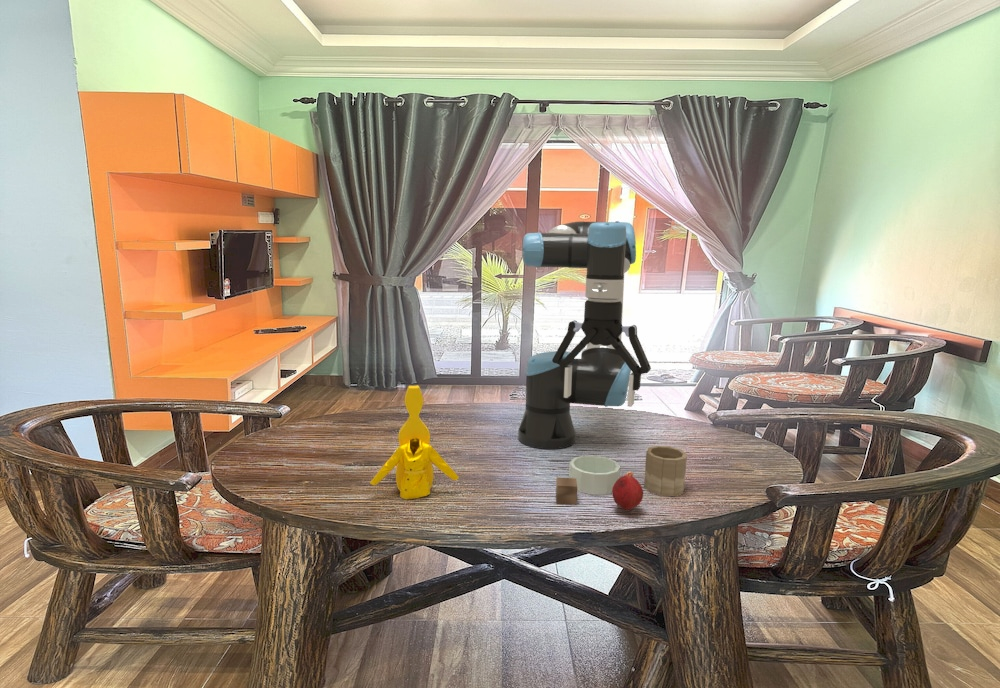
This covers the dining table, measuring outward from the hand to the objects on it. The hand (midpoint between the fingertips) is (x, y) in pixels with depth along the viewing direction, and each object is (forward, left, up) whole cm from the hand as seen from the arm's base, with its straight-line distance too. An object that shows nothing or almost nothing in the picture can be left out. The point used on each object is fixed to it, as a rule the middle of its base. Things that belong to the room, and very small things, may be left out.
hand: (598, 400), depth 117 cm
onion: (+9, -9, -19) cm, 23 cm away
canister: (+14, +5, -19) cm, 24 cm away
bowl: (0, 0, -19) cm, 19 cm away
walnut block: (-3, -10, -19) cm, 22 cm away
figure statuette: (-32, -21, -19) cm, 43 cm away
